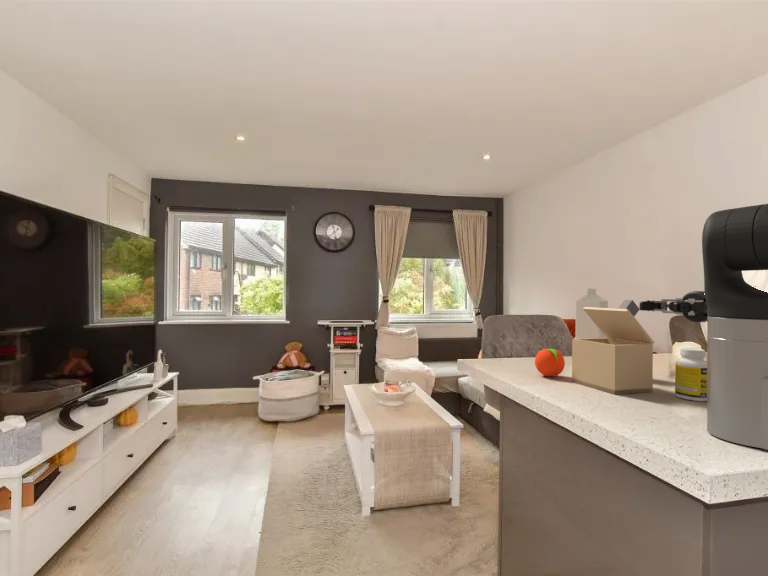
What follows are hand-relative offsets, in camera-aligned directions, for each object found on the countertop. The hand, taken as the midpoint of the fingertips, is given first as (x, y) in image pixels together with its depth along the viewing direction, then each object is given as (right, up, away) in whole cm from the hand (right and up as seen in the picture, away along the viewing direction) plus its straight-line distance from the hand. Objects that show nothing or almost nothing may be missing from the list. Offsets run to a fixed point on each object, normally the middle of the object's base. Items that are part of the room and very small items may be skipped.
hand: (656, 306), depth 94 cm
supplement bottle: (-2, -18, -14) cm, 23 cm away
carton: (-13, -18, -4) cm, 22 cm away
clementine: (-23, -18, +6) cm, 29 cm away
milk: (-9, -18, +13) cm, 24 cm away
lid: (-12, -4, -4) cm, 13 cm away
